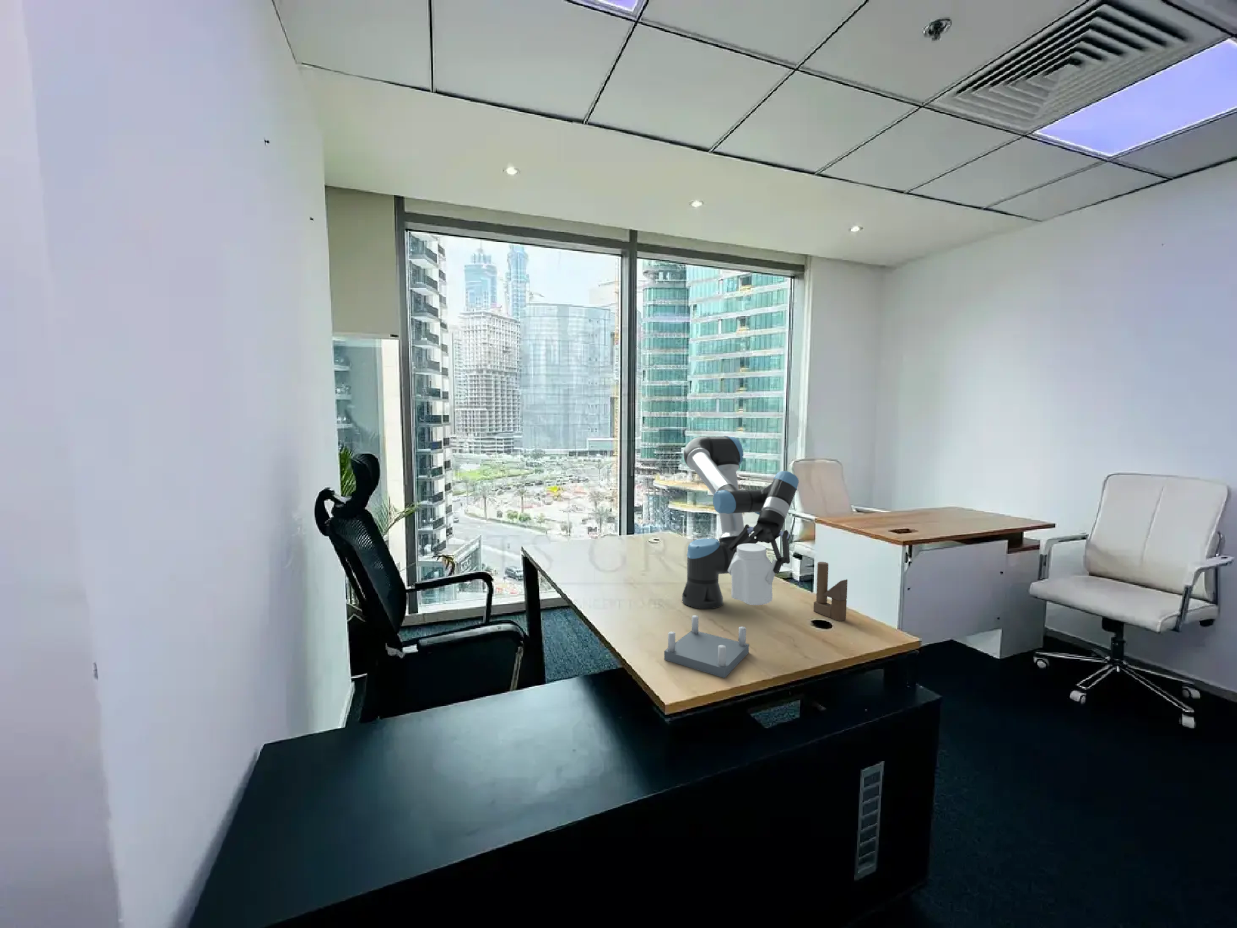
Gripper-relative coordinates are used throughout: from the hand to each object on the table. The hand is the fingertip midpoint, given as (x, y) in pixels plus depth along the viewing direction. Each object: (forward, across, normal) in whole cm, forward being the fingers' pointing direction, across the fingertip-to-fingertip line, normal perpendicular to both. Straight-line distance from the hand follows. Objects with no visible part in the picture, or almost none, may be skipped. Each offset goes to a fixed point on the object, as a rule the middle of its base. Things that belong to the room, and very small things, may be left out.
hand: (748, 577), depth 141 cm
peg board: (+23, +7, -8) cm, 25 cm away
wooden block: (-14, -7, -49) cm, 52 cm away
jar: (+4, 0, -6) cm, 7 cm away
